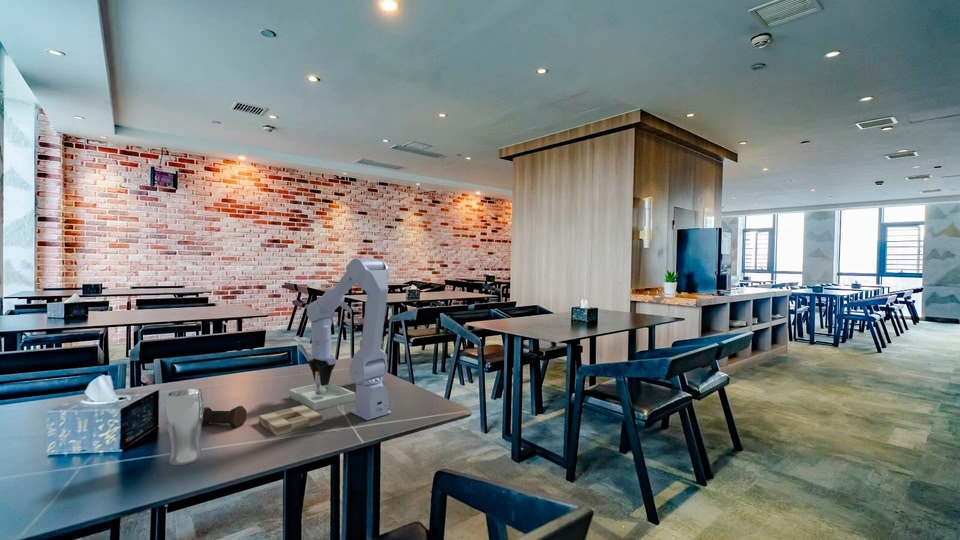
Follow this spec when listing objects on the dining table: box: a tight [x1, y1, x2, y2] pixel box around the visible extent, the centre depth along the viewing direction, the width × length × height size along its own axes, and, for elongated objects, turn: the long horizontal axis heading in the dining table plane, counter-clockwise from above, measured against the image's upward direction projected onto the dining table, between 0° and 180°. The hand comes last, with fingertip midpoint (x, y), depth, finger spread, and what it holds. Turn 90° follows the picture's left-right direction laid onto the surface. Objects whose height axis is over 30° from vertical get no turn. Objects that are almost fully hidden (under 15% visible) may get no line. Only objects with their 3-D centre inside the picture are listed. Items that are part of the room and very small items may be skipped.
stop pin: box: [314, 370, 328, 395], centre depth 138 cm, size 4×4×7 cm
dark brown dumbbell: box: [202, 405, 248, 429], centre depth 117 cm, size 6×5×15 cm
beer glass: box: [165, 387, 205, 467], centre depth 97 cm, size 7×7×15 cm
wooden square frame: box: [258, 404, 324, 436], centre depth 118 cm, size 12×12×2 cm
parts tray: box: [288, 381, 356, 412], centre depth 138 cm, size 18×13×2 cm
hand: (321, 383), depth 138 cm, fingers closed on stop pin, 4 cm apart
